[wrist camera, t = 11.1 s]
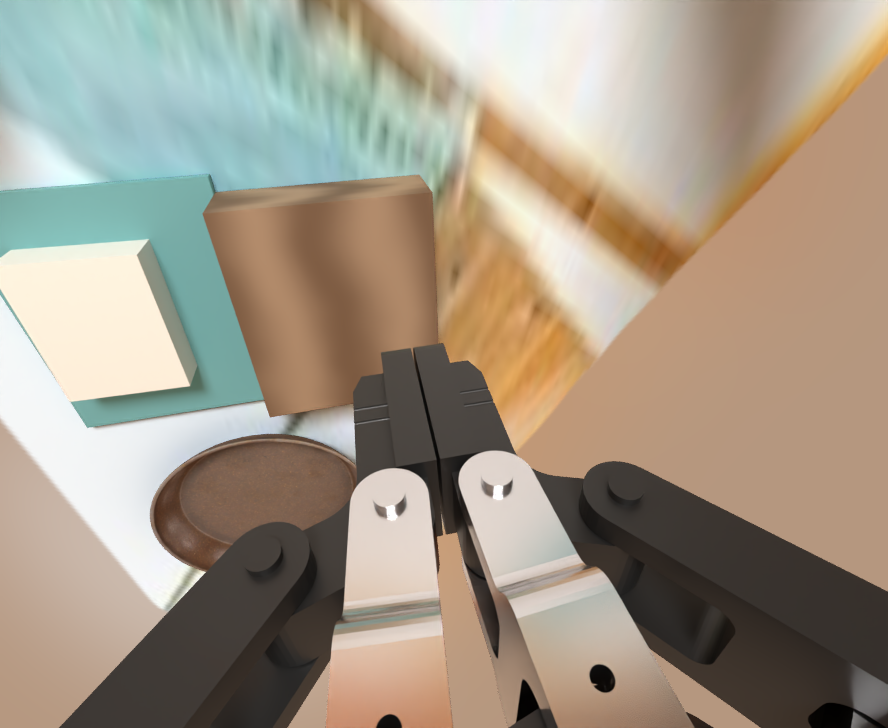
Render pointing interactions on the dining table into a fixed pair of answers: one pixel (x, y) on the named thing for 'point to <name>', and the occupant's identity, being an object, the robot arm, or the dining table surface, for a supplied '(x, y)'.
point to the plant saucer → (247, 493)
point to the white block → (99, 317)
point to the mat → (181, 262)
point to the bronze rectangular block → (326, 281)
